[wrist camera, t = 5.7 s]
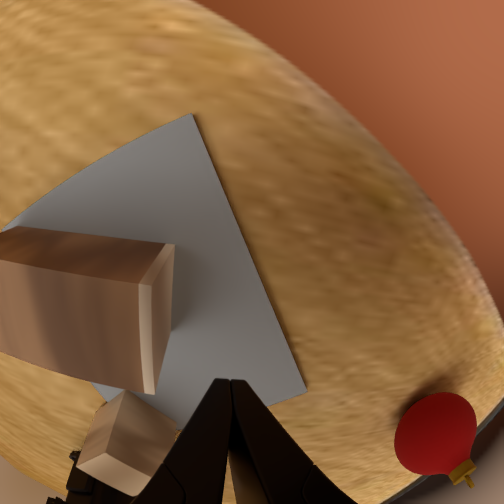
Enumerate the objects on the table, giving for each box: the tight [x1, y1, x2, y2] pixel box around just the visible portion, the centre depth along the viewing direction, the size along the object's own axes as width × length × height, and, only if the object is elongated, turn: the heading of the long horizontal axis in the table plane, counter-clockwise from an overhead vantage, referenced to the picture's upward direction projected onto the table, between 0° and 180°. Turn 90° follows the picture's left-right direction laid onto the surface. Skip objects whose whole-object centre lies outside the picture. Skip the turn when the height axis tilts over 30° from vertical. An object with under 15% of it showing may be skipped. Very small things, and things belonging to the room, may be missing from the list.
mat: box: [2, 113, 307, 430], centre depth 13 cm, size 16×12×1 cm
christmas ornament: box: [394, 392, 477, 488], centre depth 14 cm, size 7×7×10 cm
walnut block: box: [0, 226, 175, 395], centre depth 10 cm, size 4×4×9 cm
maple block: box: [76, 390, 177, 496], centre depth 13 cm, size 4×4×5 cm
